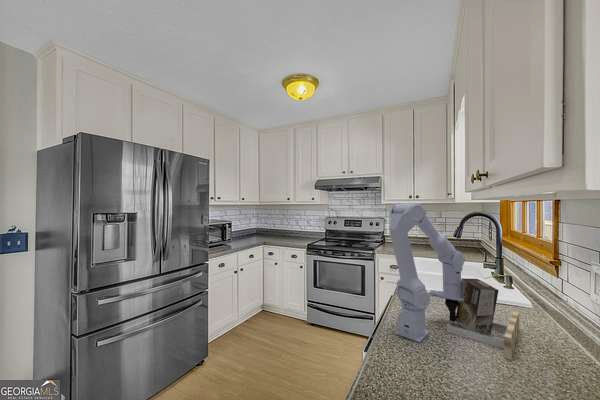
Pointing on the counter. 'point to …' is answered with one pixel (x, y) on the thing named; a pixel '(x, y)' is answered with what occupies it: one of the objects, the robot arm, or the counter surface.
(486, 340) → the rails
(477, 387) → the counter surface
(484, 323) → the coffee box
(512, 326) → the back plate
